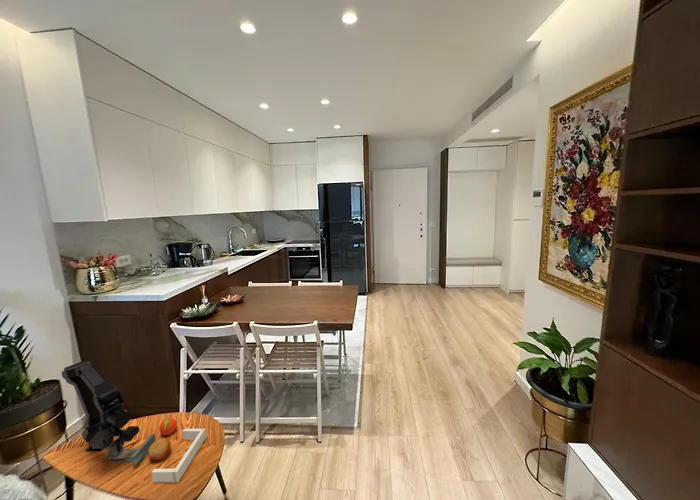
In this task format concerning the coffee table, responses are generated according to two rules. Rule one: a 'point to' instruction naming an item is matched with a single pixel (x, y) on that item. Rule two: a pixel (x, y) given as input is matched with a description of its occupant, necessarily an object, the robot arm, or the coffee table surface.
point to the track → (123, 459)
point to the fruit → (159, 449)
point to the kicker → (133, 455)
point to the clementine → (167, 426)
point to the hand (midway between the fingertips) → (115, 451)
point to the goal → (177, 473)
